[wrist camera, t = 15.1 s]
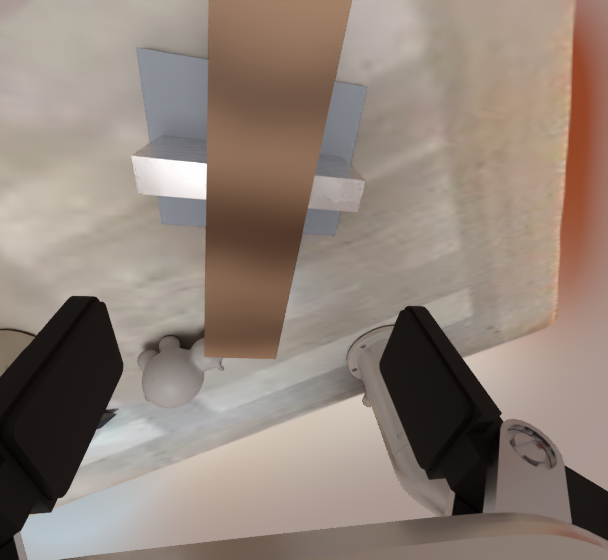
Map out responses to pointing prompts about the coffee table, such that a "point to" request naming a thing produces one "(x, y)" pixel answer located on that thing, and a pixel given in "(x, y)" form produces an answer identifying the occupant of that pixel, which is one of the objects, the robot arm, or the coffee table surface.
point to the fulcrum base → (193, 124)
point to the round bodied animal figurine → (174, 372)
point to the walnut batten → (262, 159)
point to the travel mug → (11, 347)
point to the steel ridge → (193, 174)
